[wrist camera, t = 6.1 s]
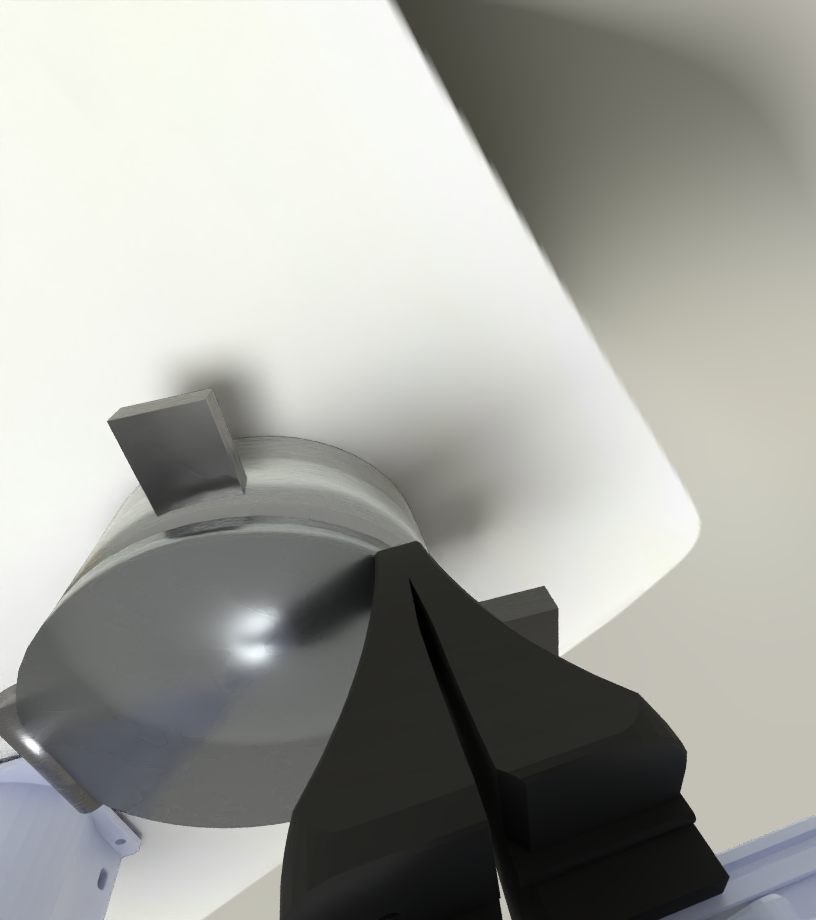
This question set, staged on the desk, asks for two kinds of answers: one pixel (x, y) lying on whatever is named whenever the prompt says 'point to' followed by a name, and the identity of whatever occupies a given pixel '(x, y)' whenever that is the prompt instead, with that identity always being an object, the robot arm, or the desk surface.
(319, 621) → the lid
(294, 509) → the pot
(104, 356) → the desk surface
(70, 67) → the desk surface
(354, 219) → the desk surface
